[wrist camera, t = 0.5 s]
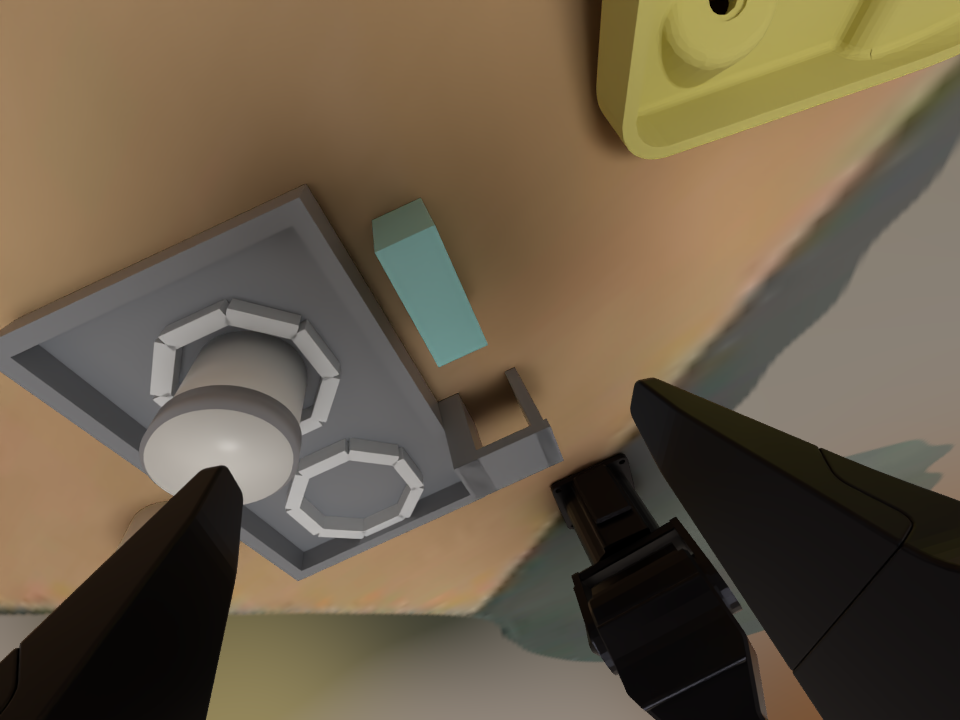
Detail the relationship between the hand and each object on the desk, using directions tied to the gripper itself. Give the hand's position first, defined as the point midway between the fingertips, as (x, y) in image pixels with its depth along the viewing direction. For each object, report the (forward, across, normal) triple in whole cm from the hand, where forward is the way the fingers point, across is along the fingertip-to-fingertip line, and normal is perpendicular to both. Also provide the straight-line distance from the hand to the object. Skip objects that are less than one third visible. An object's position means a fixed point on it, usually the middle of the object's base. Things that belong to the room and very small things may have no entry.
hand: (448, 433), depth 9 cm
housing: (+14, +5, +8) cm, 17 cm away
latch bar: (+14, -1, +1) cm, 14 cm away
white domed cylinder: (+12, +8, +5) cm, 16 cm away
